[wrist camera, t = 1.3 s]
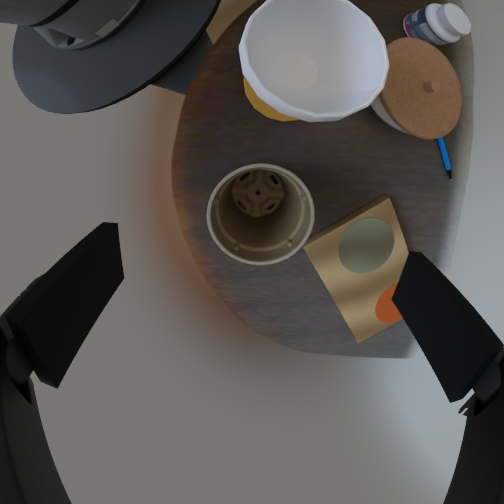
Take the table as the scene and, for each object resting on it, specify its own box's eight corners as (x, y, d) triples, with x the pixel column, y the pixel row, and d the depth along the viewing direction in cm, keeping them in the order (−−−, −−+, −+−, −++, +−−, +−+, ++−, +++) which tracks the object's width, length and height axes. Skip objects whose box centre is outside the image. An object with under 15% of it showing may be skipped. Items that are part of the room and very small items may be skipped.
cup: (265, 34, 22) (279, -36, 8) (338, 71, 24) (413, 40, 10) (229, 100, 26) (206, 80, 12) (303, 135, 28) (355, 154, 14)
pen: (405, 46, 21) (403, 46, 21) (454, 178, 29) (452, 182, 29) (400, 48, 22) (397, 48, 22) (448, 178, 30) (447, 182, 29)
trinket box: (360, 36, 22) (397, 14, 14) (431, 75, 23) (478, 71, 15) (340, 112, 27) (374, 111, 18) (413, 145, 28) (459, 159, 20)
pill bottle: (413, 8, 19) (451, -9, 11) (439, 37, 20) (480, 28, 12) (395, 25, 20) (433, 7, 13) (422, 55, 22) (465, 47, 14)
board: (300, 242, 34) (302, 247, 33) (384, 194, 31) (390, 197, 30) (355, 337, 42) (358, 343, 41) (418, 301, 39) (422, 307, 38)
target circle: (368, 298, 37) (369, 299, 37) (414, 271, 35) (414, 272, 35) (381, 329, 40) (382, 330, 40) (422, 305, 38) (422, 306, 38)
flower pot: (313, 175, 30) (334, 195, 23) (275, 241, 34) (282, 279, 26) (239, 137, 28) (235, 144, 21) (205, 209, 32) (191, 240, 24)
